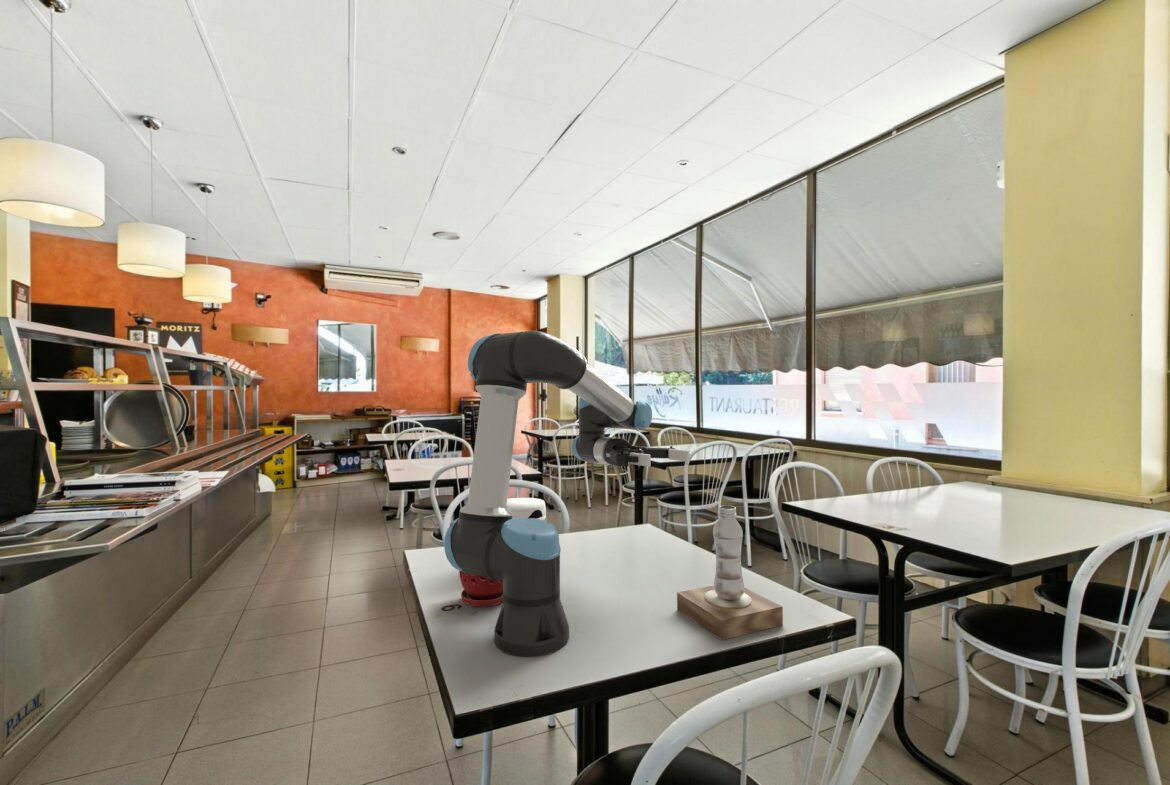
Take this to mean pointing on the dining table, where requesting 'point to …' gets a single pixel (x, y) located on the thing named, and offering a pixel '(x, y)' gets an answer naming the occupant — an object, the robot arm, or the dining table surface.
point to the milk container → (527, 508)
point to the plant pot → (480, 590)
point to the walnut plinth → (729, 612)
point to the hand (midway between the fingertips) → (669, 458)
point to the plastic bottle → (728, 555)
